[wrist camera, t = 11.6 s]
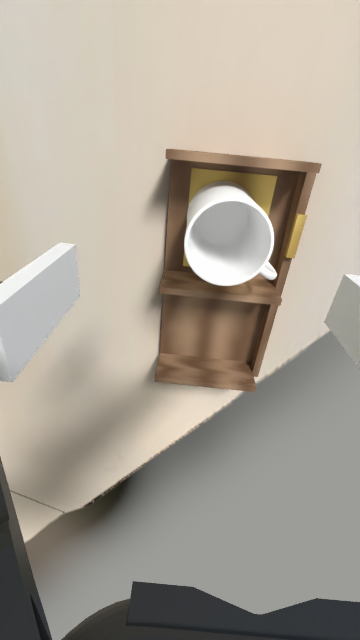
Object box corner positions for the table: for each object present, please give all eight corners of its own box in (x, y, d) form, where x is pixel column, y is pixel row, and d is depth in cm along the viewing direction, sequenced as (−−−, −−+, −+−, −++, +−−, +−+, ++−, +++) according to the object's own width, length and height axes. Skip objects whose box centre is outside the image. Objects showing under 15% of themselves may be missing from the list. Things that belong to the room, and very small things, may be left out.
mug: (285, 236, 37) (318, 270, 27) (234, 280, 41) (245, 324, 30) (223, 163, 33) (233, 170, 23) (172, 218, 37) (161, 245, 27)
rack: (160, 353, 49) (154, 381, 43) (172, 149, 34) (166, 149, 28) (254, 362, 49) (261, 392, 43) (308, 161, 34) (332, 164, 28)
